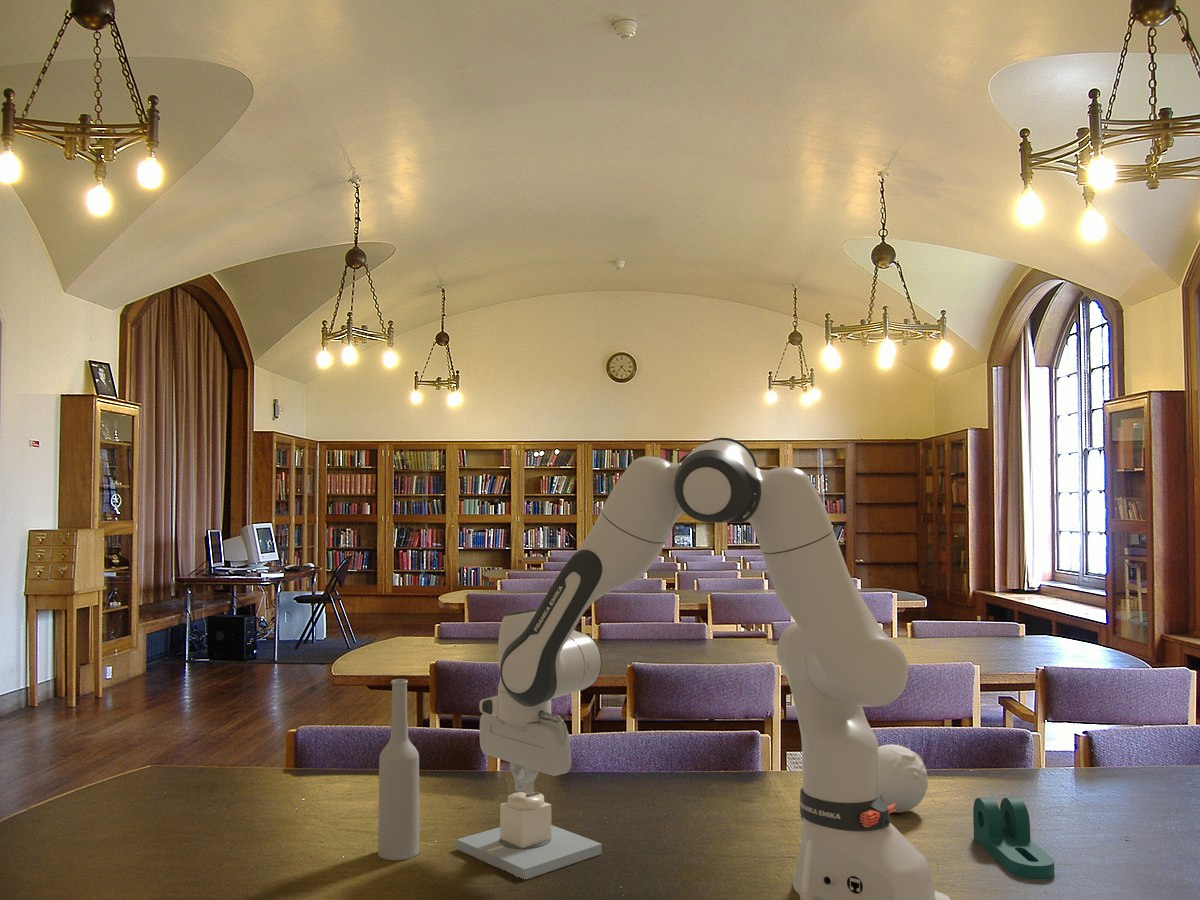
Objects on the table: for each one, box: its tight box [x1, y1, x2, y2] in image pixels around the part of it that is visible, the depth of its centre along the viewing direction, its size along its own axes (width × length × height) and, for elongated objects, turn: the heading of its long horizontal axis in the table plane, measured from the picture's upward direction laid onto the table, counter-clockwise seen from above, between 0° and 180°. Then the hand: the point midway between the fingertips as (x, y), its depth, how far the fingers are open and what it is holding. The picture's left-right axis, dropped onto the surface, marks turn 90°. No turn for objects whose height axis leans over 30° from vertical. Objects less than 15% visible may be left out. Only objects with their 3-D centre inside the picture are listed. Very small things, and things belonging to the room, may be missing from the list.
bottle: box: [377, 678, 420, 862], centre depth 163 cm, size 7×7×28 cm
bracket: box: [972, 797, 1055, 881], centre depth 159 cm, size 18×7×8 cm, turn 179°
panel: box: [456, 824, 603, 881], centre depth 163 cm, size 18×16×7 cm
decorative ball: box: [878, 743, 929, 814], centre depth 183 cm, size 12×12×12 cm
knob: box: [499, 791, 552, 848], centre depth 164 cm, size 6×6×7 cm
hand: (524, 791), depth 164 cm, fingers closed
